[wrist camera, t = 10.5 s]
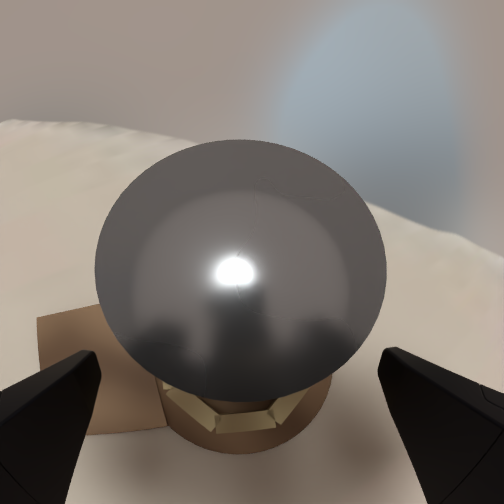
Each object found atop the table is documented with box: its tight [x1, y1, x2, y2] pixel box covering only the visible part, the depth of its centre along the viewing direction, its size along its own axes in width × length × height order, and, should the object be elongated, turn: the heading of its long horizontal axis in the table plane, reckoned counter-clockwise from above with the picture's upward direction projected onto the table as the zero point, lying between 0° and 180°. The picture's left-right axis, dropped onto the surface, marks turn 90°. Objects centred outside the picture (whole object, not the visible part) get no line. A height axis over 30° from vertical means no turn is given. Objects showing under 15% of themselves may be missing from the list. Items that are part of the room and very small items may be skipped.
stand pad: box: [37, 304, 169, 435], centre depth 15 cm, size 8×8×1 cm
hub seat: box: [155, 374, 332, 454], centre depth 15 cm, size 11×11×2 cm
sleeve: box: [95, 140, 386, 402], centre depth 10 cm, size 4×4×13 cm
